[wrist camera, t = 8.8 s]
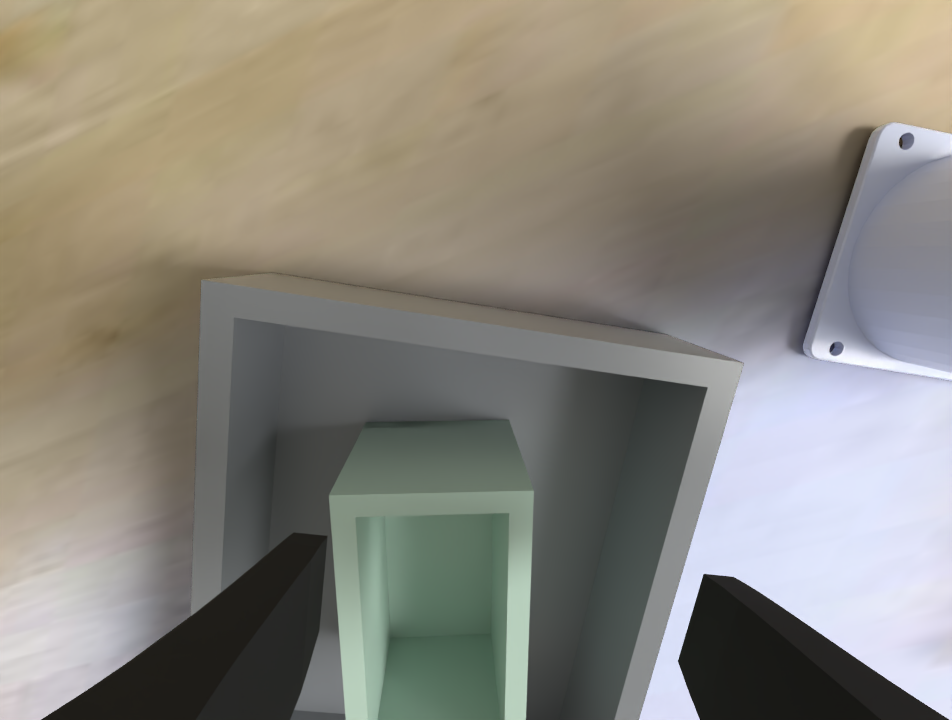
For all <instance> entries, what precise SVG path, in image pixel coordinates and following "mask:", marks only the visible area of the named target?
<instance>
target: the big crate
mask: <svg viewBox="0 0 952 720" xmlns="http://www.w3.org/2000/svg"><path fill="white" fill-rule="evenodd" d="M743 365H744V363H742V362H740V361H737V360H734V359H732V358H729V357H726V356H723V355H721V354H718V353H715V352H713V351H710V350H707V349H705V348H702V347H699V346H696V345H694V344H691V343H688V342H686V341H683V340H680V339H678V338H675V337H672V336H669V335H667V334H660V333H654V332H647V331H641V330H635V329H628V328H622V327H616V326H609V325H603V324H596V323H590V322H584V321H577V320H571V319H565V318H558V317H552V316H545V315H539V314H533V313H526V312H520V311H514V310H507V309H501V308H494V307H488V306H482V305H475V304H469V303H463V302H456V301H450V300H443V299H437V298H431V297H424V296H418V295H412V294H405V293H399V292H392V291H386V290H380V289H373V288H367V287H361V286H354V285H348V284H341V283H335V282H329V281H322V280H316V279H310V278H303V277H297V276H290V275H284V274H278V273H263V274H254V275H244V276H234V277H224V278H214V279H204V280H201V305H200V336H199V367H198V398H197V429H196V460H195V491H194V523H193V554H192V585H191V616H192V615H193V614H194V613H196V612H197V611H198V610H199V609H201V608H202V607H203V606H204V605H206V604H207V603H208V602H209V601H211V600H212V599H213V598H214V597H216V596H217V595H218V594H219V593H221V592H222V591H223V590H224V589H226V588H227V587H228V586H229V585H231V584H232V583H233V582H234V581H236V580H237V579H238V578H239V577H240V576H242V575H243V574H244V573H245V572H246V571H248V570H249V569H250V568H251V567H252V566H254V565H255V564H256V563H257V562H258V561H259V560H261V559H262V558H263V557H264V556H265V555H267V554H268V553H269V552H270V551H271V550H272V549H274V548H275V547H276V546H277V545H278V544H279V543H281V542H282V541H283V540H284V539H286V538H287V537H288V536H289V535H291V534H292V533H294V532H295V533H305V534H314V535H324V536H328V538H327V549H326V561H325V572H324V583H323V595H322V606H321V618H320V629H319V634H318V637H317V641H316V644H315V647H314V651H313V654H312V658H311V661H310V665H309V668H308V671H307V674H306V678H305V681H304V684H303V688H302V691H301V694H300V696H299V699H298V701H297V704H296V706H295V709H294V711H293V714H292V716H291V719H290V720H346V717H345V704H344V691H343V677H342V664H341V651H340V637H339V624H338V611H337V598H336V584H335V571H334V558H333V544H332V531H331V518H330V504H329V494H330V492H331V490H332V488H333V486H334V484H335V482H336V480H337V478H338V476H339V474H340V472H341V470H342V469H343V467H344V465H345V463H346V461H347V459H348V457H349V455H350V453H351V451H352V449H353V447H354V445H355V443H356V441H357V439H358V437H359V435H360V433H361V431H362V429H363V427H364V425H365V423H366V422H399V421H464V420H509V421H510V424H511V427H512V430H513V432H514V435H515V438H516V441H517V444H518V447H519V450H520V452H521V455H522V458H523V461H524V464H525V467H526V470H527V472H528V475H529V478H530V481H531V484H532V487H533V489H534V502H533V531H532V560H531V589H530V617H529V646H528V675H527V703H526V720H639V717H640V714H641V710H642V707H643V704H644V700H645V697H646V693H647V690H648V687H649V683H650V680H651V677H652V673H653V670H654V666H655V663H656V660H657V656H658V653H659V649H660V646H661V643H662V639H663V636H664V632H665V629H666V626H667V622H668V619H669V616H670V612H671V609H672V605H673V602H674V599H675V595H676V592H677V588H678V585H679V582H680V578H681V575H682V572H683V568H684V565H685V561H686V558H687V555H688V551H689V548H690V544H691V541H692V538H693V534H694V531H695V527H696V524H697V521H698V517H699V514H700V511H701V507H702V504H703V500H704V497H705V494H706V490H707V487H708V483H709V480H710V477H711V473H712V470H713V466H714V463H715V460H716V456H717V453H718V450H719V446H720V443H721V439H722V436H723V433H724V429H725V426H726V422H727V419H728V416H729V412H730V409H731V406H732V402H733V399H734V395H735V392H736V389H737V385H738V382H739V378H740V375H741V372H742V368H743Z"/></svg>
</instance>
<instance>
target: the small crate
mask: <svg viewBox="0 0 952 720" xmlns="http://www.w3.org/2000/svg"><path fill="white" fill-rule="evenodd" d="M533 502H534V489H533V487H532V484H531V481H530V478H529V475H528V472H527V470H526V467H525V464H524V461H523V458H522V455H521V452H520V450H519V447H518V444H517V441H516V438H515V435H514V432H513V430H512V427H511V424H510V421H509V420H464V421H399V422H366V423H365V425H364V427H363V429H362V431H361V433H360V435H359V437H358V439H357V441H356V443H355V445H354V447H353V449H352V451H351V453H350V455H349V457H348V459H347V461H346V463H345V465H344V467H343V469H342V470H341V472H340V474H339V476H338V478H337V480H336V482H335V484H334V486H333V488H332V490H331V492H330V494H329V504H330V518H331V531H332V544H333V558H334V571H335V584H336V598H337V611H338V624H339V637H340V651H341V664H342V677H343V691H344V704H345V717H346V720H526V703H527V675H528V646H529V617H530V589H531V560H532V531H533Z"/></svg>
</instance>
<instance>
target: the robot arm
mask: <svg viewBox="0 0 952 720" xmlns="http://www.w3.org/2000/svg"><path fill="white" fill-rule="evenodd" d="M900 137H901V138H902V140H903V144H902V147H901V148H900V146H899V139H900ZM833 343H835V347H834V349H833V351H832V352H829V350H830V346H831V345H832V344H833ZM803 350H804V353H805V354H806V355H807V356H808V357H811V358H814V359H817V360H823V361H829V362H836V363H842V364H848V365H855V366H861V367H867V368H874V369H880V370H887V371H893V372H899V373H906V374H912V375H919V376H925V377H931V378H938V379H944V380H951V381H952V134H950V133H946V132H941V131H936V130H931V129H926V128H922V127H917V126H912V125H907V124H902V123H898V122H891V123H888V124H884V125H881V126H879V127H877V128H876V129H875V130H874V131H873V132H872V134H871V136H870V138H869V141H868V144H867V147H866V150H865V153H864V156H863V159H862V162H861V165H860V169H859V172H858V175H857V178H856V181H855V184H854V187H853V190H852V194H851V197H850V200H849V203H848V206H847V209H846V212H845V215H844V218H843V222H842V225H841V228H840V231H839V234H838V237H837V240H836V243H835V247H834V250H833V253H832V256H831V259H830V262H829V265H828V268H827V271H826V275H825V278H824V281H823V284H822V287H821V290H820V293H819V296H818V299H817V303H816V306H815V309H814V312H813V315H812V318H811V321H810V324H809V328H808V331H807V334H806V337H805V340H804V344H803ZM327 538H328V536H324V535H314V534H305V533H295V532H294V533H292V534H291V535H289V536H288V537H287V538H286V539H284V540H283V541H282V542H281V543H279V544H278V545H277V546H276V547H275V548H274V549H272V550H271V551H270V552H269V553H268V554H267V555H265V556H264V557H263V558H262V559H261V560H259V561H258V562H257V563H256V564H255V565H254V566H252V567H251V568H250V569H249V570H248V571H246V572H245V573H244V574H243V575H242V576H240V577H239V578H238V579H237V580H236V581H234V582H233V583H232V584H231V585H229V586H228V587H227V588H226V589H224V590H223V591H222V592H221V593H219V594H218V595H217V596H216V597H214V598H213V599H212V600H211V601H209V602H208V603H207V604H206V605H204V606H203V607H202V608H201V609H199V610H198V611H197V612H196V613H194V614H193V615H192V616H190V617H189V618H188V619H186V620H185V621H184V622H182V623H181V624H180V625H178V626H177V627H176V628H174V629H173V630H172V631H170V632H169V633H167V634H166V635H165V636H163V637H162V638H161V639H159V640H158V641H157V642H155V643H154V644H152V645H151V646H150V647H148V648H147V649H146V650H144V651H143V652H142V653H140V654H139V655H137V656H136V657H135V658H133V659H132V660H131V661H129V662H128V663H126V664H125V665H123V666H122V667H121V668H119V669H118V670H116V671H115V672H113V673H112V674H110V675H109V676H107V677H106V678H105V679H103V680H102V681H100V682H99V683H97V684H96V685H94V686H93V687H91V688H90V689H88V690H87V691H85V692H84V693H82V694H81V695H79V696H77V697H76V698H74V699H73V700H71V701H70V702H68V703H67V704H65V705H63V706H62V707H60V708H59V709H57V710H56V711H54V712H52V713H51V714H49V715H48V716H46V717H45V718H43V719H42V720H290V719H291V716H292V714H293V711H294V709H295V706H296V704H297V701H298V699H299V696H300V694H301V691H302V688H303V684H304V681H305V678H306V674H307V671H308V668H309V665H310V661H311V658H312V654H313V651H314V647H315V644H316V641H317V637H318V634H319V629H320V618H321V606H322V595H323V583H324V572H325V561H326V549H327ZM678 662H679V665H680V668H681V671H682V674H683V676H684V679H685V682H686V685H687V688H688V690H689V693H690V696H691V698H692V701H693V703H694V706H695V708H696V711H697V713H698V716H699V718H700V720H949V719H947V718H946V717H944V716H942V715H941V714H939V713H938V712H936V711H935V710H933V709H932V708H930V707H928V706H927V705H925V704H924V703H922V702H921V701H919V700H918V699H916V698H914V697H913V696H911V695H910V694H908V693H907V692H905V691H904V690H902V689H901V688H899V687H898V686H896V685H895V684H893V683H892V682H890V681H889V680H887V679H886V678H884V677H883V676H881V675H880V674H878V673H877V672H875V671H874V670H872V669H871V668H869V667H868V666H867V665H865V664H864V663H862V662H861V661H859V660H858V659H856V658H855V657H853V656H852V655H850V654H849V653H847V652H846V651H845V650H843V649H842V648H840V647H839V646H837V645H836V644H834V643H833V642H831V641H830V640H829V639H827V638H826V637H824V636H823V635H821V634H820V633H818V632H817V631H816V630H814V629H813V628H811V627H810V626H808V625H807V624H805V623H804V622H802V621H801V620H800V619H798V618H797V617H795V616H794V615H792V614H791V613H789V612H788V611H786V610H785V609H783V608H782V607H781V606H779V605H778V604H776V603H775V602H773V601H772V600H770V599H769V598H767V597H766V596H764V595H762V594H761V593H759V592H758V591H756V590H755V589H753V588H751V587H750V586H748V585H747V584H745V583H743V582H741V581H740V580H738V579H736V578H734V577H728V576H718V575H708V574H704V575H703V578H702V582H701V585H700V589H699V592H698V595H697V599H696V602H695V606H694V609H693V612H692V616H691V619H690V623H689V626H688V629H687V633H686V636H685V639H684V643H683V646H682V650H681V653H680V656H679V660H678Z"/></svg>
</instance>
